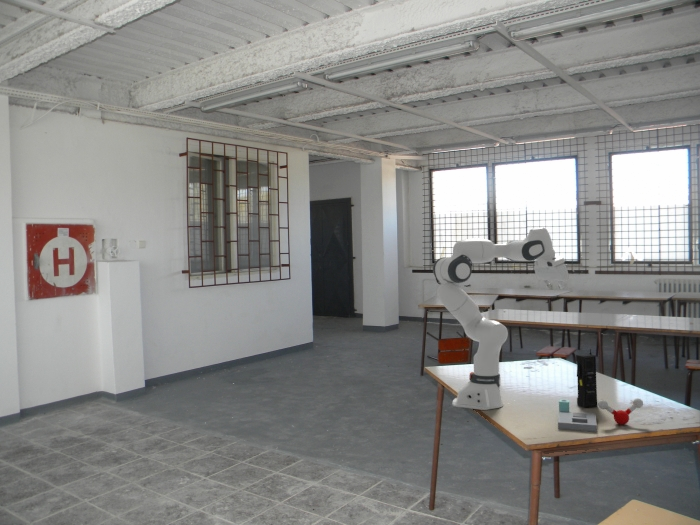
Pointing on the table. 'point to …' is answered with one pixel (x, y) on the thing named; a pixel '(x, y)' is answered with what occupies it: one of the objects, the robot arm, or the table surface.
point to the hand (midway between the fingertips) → (555, 288)
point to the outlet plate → (577, 421)
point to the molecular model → (620, 415)
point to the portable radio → (586, 380)
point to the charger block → (564, 405)
